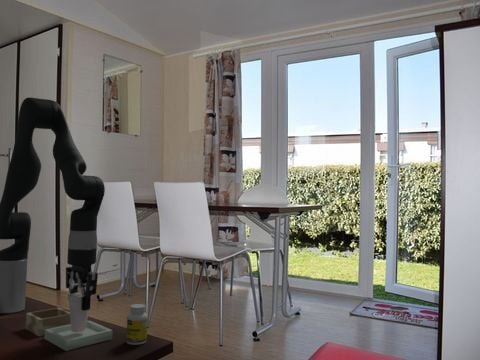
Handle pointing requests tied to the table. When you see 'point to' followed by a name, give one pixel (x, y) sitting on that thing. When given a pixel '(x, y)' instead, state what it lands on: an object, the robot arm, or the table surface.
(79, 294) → the smoothie
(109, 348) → the table surface
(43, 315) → the holder
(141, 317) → the supplement bottle
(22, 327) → the table surface
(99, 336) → the tray
